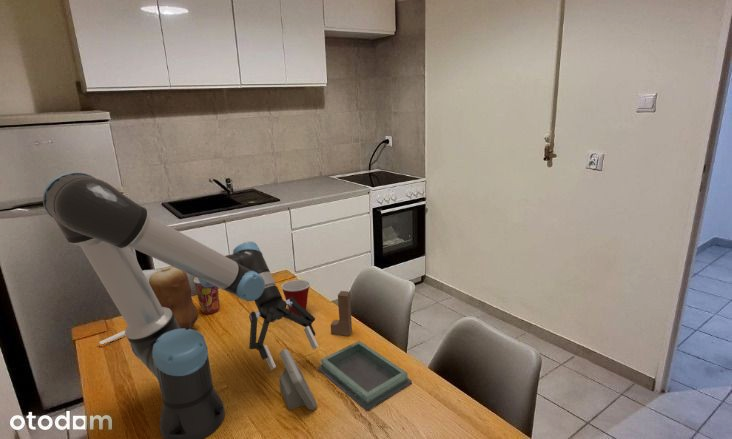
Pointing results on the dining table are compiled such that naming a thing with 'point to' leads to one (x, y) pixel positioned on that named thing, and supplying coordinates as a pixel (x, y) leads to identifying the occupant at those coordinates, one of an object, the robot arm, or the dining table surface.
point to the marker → (113, 337)
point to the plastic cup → (296, 292)
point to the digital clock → (294, 384)
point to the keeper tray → (364, 374)
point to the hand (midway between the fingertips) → (295, 358)
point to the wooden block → (343, 316)
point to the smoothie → (207, 297)
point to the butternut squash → (175, 295)
